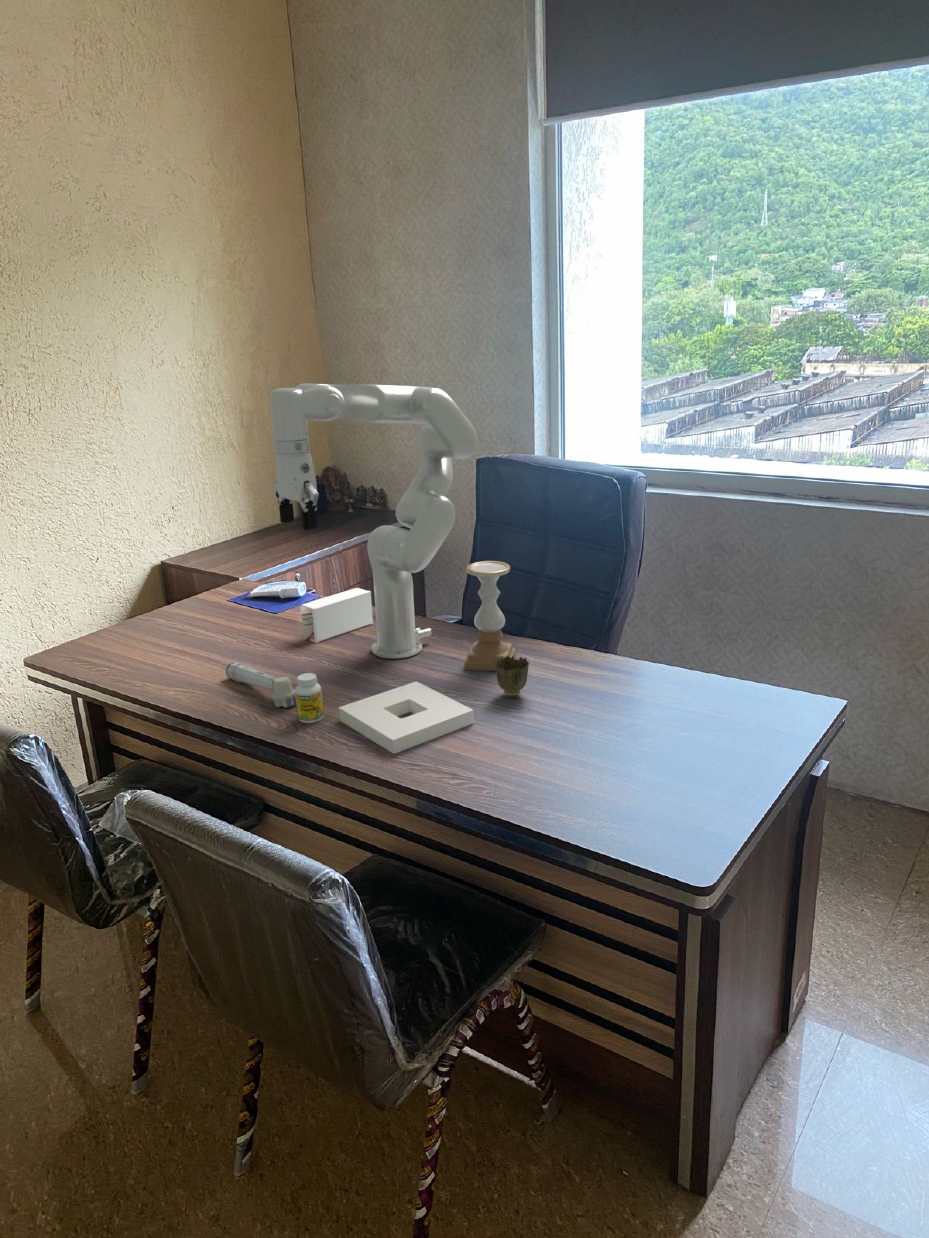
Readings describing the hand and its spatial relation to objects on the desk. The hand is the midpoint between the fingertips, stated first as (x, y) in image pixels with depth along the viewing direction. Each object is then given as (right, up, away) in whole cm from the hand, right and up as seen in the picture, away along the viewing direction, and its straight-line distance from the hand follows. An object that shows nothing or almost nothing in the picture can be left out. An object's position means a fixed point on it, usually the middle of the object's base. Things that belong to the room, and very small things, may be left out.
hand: (298, 525), depth 202 cm
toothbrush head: (-9, -38, +5) cm, 39 cm away
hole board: (+25, -42, -12) cm, 50 cm away
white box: (+3, -24, +41) cm, 48 cm away
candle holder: (+43, -31, +18) cm, 56 cm away
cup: (+47, -38, -1) cm, 60 cm away
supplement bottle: (+4, -42, -9) cm, 43 cm away
